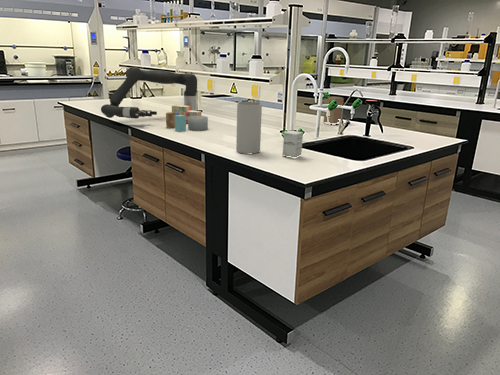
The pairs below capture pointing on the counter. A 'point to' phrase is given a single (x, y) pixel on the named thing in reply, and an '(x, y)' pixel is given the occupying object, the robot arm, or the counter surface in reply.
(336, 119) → the block
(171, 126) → the walnut block
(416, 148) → the counter surface
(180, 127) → the teal block
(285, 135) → the supplement box
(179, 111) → the stack of blocks
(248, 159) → the counter surface
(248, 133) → the cylinder vase
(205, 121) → the plinth
